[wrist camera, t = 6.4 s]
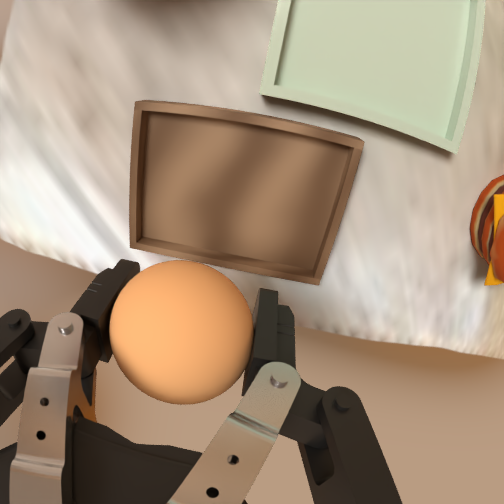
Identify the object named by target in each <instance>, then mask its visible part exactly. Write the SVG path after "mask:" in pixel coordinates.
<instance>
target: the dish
mask: <svg viewBox="0 0 504 504" xmlns="http://www.w3.org/2000/svg"><path fill="white" fill-rule="evenodd" d="M485 2H486V0H278V4H277V9H276V13H275V18H274V23H273V28H272V32H271V37H270V42H269V47H268V52H267V57H266V62H265V67H264V72H263V77H262V82H261V87H260V92H259V94H261V95H267V96H272V97H277V98H282V99H287V100H292V101H296V102H301V103H305V104H309V105H313V106H317V107H321V108H325V109H329V110H333V111H337V112H340V113H344V114H347V115H351V116H354V117H357V118H361V119H364V120H367V121H370V122H374V123H377V124H380V125H383V126H386V127H389V128H391V129H394V130H397V131H400V132H403V133H405V134H408V135H411V136H413V137H416V138H419V139H421V140H424V141H426V142H429V143H431V144H433V145H436V146H438V147H441V148H443V149H445V150H448V151H450V152H452V153H454V154H457V153H458V149H459V146H460V143H461V139H462V136H463V132H464V128H465V125H466V121H467V117H468V113H469V109H470V105H471V100H472V96H473V91H474V86H475V81H476V76H477V70H478V65H479V58H480V52H481V45H482V37H483V28H484V17H485Z"/></svg>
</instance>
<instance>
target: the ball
mask: <svg viewBox="0 0 504 504" xmlns="http://www.w3.org/2000/svg"><path fill="white" fill-rule="evenodd" d="M109 334H110V343H111V347H112V351H113V355H114V357H115V359H116V361H117V363H118V365H119V367H120V369H121V371H122V372H123V373H124V375H125V376H126V377H127V378H128V380H129V381H130V382H131V383H132V384H133V385H135V386H136V387H137V388H138V389H139V390H141V391H142V392H144V393H145V394H147V395H148V396H150V397H153V398H155V399H157V400H160V401H163V402H167V403H171V404H196V403H201V402H204V401H207V400H210V399H213V398H215V397H217V396H219V395H221V394H222V393H224V392H225V391H226V390H228V389H229V388H230V387H231V386H232V385H233V384H234V383H235V382H236V381H237V380H238V379H239V378H240V376H241V375H242V373H243V372H244V370H245V369H246V367H247V365H248V362H249V359H250V355H251V350H252V345H253V338H254V325H253V319H252V314H251V312H250V309H249V307H248V304H247V302H246V300H245V298H244V296H243V295H242V293H241V292H240V291H239V289H238V288H237V287H236V285H235V284H234V283H233V282H232V281H231V280H230V279H228V278H227V277H226V276H225V275H223V274H222V273H220V272H219V271H217V270H215V269H213V268H211V267H209V266H207V265H204V264H201V263H197V262H193V261H186V260H173V261H167V262H162V263H158V264H155V265H153V266H150V267H148V268H146V269H145V270H143V271H141V272H139V273H138V274H137V275H136V276H135V277H133V278H132V279H131V280H130V281H129V282H128V283H127V284H126V286H125V287H124V288H123V289H122V291H121V292H120V294H119V296H118V298H117V300H116V302H115V303H114V307H113V310H112V313H111V317H110V327H109Z"/></svg>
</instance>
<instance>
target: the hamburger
mask: <svg viewBox="0 0 504 504" xmlns="http://www.w3.org/2000/svg"><path fill="white" fill-rule="evenodd" d="M470 231H471V238H472V244H473V246H474V247H475V249H476V251H477V252H478V254H479V255H480V256H481V257H482V258H484V259H485V260H486V261H487V263H488V265H489V269H488V273H487V276H486V280H485V284H484V285H498V284H501V283H504V175H502V176H500V177H498V178H496V179H494V180H492V181H491V182H490V183H489V184H488V186H487V187H486V188H485V189H484V190H483V191H482V192H481V194H480V196H479V198H478V201H477V203H476V205H475V207H474V209H473V213H472V218H471V224H470Z"/></svg>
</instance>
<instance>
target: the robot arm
mask: <svg viewBox="0 0 504 504" xmlns="http://www.w3.org/2000/svg"><path fill="white" fill-rule="evenodd" d="M139 272H140V265H139V263H138V262H133V261H129V260H125V259H121V260H120V261H119V262H118V263H117V265H116V266H115V267H114V268H113V269H110V268H107V269H106V270H104V271H102V272H101V273H99V274H98V275H97V276H96V278H95V279H94V280H93V281H92V284H90V285H89V287H88V288H87V290H86V291H85V292H84V293H83V294H82V296H81V297H80V299H79V300H78V301H77V302H76V304H75V305H74V307H73V308H72V309H71V311H70V312H64V313H60V314H58V315H56V316H54V317H53V318H52V319H51V320H50V322H34V321H31V318H30V315H29V314H28V313H27V312H26V311H24V310H22V309H15V310H11V311H9V312H7V313H6V314H5V315H3V316H2V317H1V318H0V367H1V366H2V365H3V364H4V363H6V361H8V360H9V359H10V357H12V356H14V358H15V360H14V362H12V363H11V364H10V365H9V366H8V367H7V368H6V369H5V370H4V371H3V372H2V373H1V374H0V426H1V425H2V424H3V423H4V422H5V421H6V420H7V418H8V417H9V416H10V415H11V414H12V413H13V412H14V411H15V409H16V408H17V407H18V406H19V405H20V404H21V403H22V402H23V404H22V411H21V417H20V425H19V433H18V442H16V443H14V444H12V445H10V446H8V447H5V448H3V449H1V450H0V504H247V502H246V501H245V497H246V495H247V493H248V492H249V490H250V488H251V486H252V484H253V483H254V481H255V479H256V477H257V475H258V474H259V471H260V470H261V468H262V466H263V464H264V462H265V460H266V458H267V456H268V454H269V453H270V450H271V449H272V447H273V445H274V443H275V441H276V439H277V436H278V434H280V435H283V436H285V437H288V438H290V439H293V440H295V441H297V442H298V446H299V450H300V453H301V457H302V461H303V464H304V468H305V472H306V475H307V479H308V482H309V486H310V490H311V493H312V497H313V501H314V504H402V501H401V499H400V496H399V494H398V491H397V488H396V486H395V483H394V481H393V478H392V475H391V473H390V470H389V468H388V466H387V463H386V460H385V458H384V456H383V453H382V450H381V448H380V445H379V443H378V440H377V438H376V436H375V433H374V431H373V428H372V426H371V423H370V421H369V419H368V416H367V414H366V412H365V409H364V407H363V405H362V402H361V400H360V398H359V397H358V395H357V394H356V393H355V392H354V391H352V390H350V389H348V388H346V387H340V386H339V387H338V386H337V387H332V388H330V389H328V390H327V391H323V390H321V389H318V388H315V387H313V386H311V385H309V384H307V383H306V382H304V381H303V380H302V379H301V378H300V375H299V374H298V372H297V370H296V365H295V336H294V335H295V329H294V315H293V313H292V311H291V310H290V308H289V306H284V305H278V291H273V290H268V289H263V288H260V289H259V292H258V296H257V300H256V304H255V308H254V312H253V316H252V319H253V325H254V338H253V345H252V350H251V355H250V359H249V362H248V365H247V367H246V369H245V373H244V381H243V389H242V396H244V397H243V398H242V400H241V402H240V403H239V405H238V406H237V408H236V410H235V411H234V412H233V413H231V414H230V415H229V416H228V417H227V419H226V420H225V422H224V423H223V424H222V426H221V427H220V429H219V430H218V432H217V434H216V435H215V437H214V438H213V439H212V441H211V442H210V444H209V446H208V447H207V448H206V450H205V451H204V453H203V454H202V453H200V452H196V451H191V450H187V449H182V448H178V447H174V446H170V445H145V444H136V443H133V442H131V441H129V440H128V439H126V438H124V437H123V436H121V435H120V434H118V433H116V432H115V431H113V430H112V429H110V428H109V427H107V426H104V425H102V424H99V423H97V420H96V415H95V396H96V395H95V394H96V375H97V370H96V365H97V363H98V361H99V360H101V361H103V362H107V363H108V362H109V360H110V358H111V356H112V354H113V351H112V347H111V343H110V334H109V327H110V317H111V313H112V310H113V307H114V303H115V302H116V300H117V298H118V296H119V294H120V292H121V291H122V289H123V288H124V287H125V286H126V284H127V283H128V282H129V281H130V280H131V279H132V278H133V277H135V276H136V275H137V274H138V273H139Z"/></svg>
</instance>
